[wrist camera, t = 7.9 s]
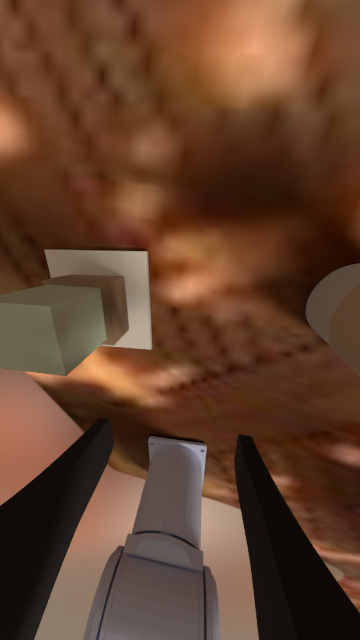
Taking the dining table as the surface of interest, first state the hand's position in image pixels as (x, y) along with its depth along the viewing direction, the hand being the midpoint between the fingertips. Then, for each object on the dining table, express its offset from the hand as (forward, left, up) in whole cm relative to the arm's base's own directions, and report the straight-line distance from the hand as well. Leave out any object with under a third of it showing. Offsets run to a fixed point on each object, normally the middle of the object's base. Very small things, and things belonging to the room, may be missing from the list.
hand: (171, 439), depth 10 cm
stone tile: (+5, +9, -10) cm, 14 cm away
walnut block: (+5, +9, -10) cm, 14 cm away
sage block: (+5, +9, -6) cm, 12 cm away
